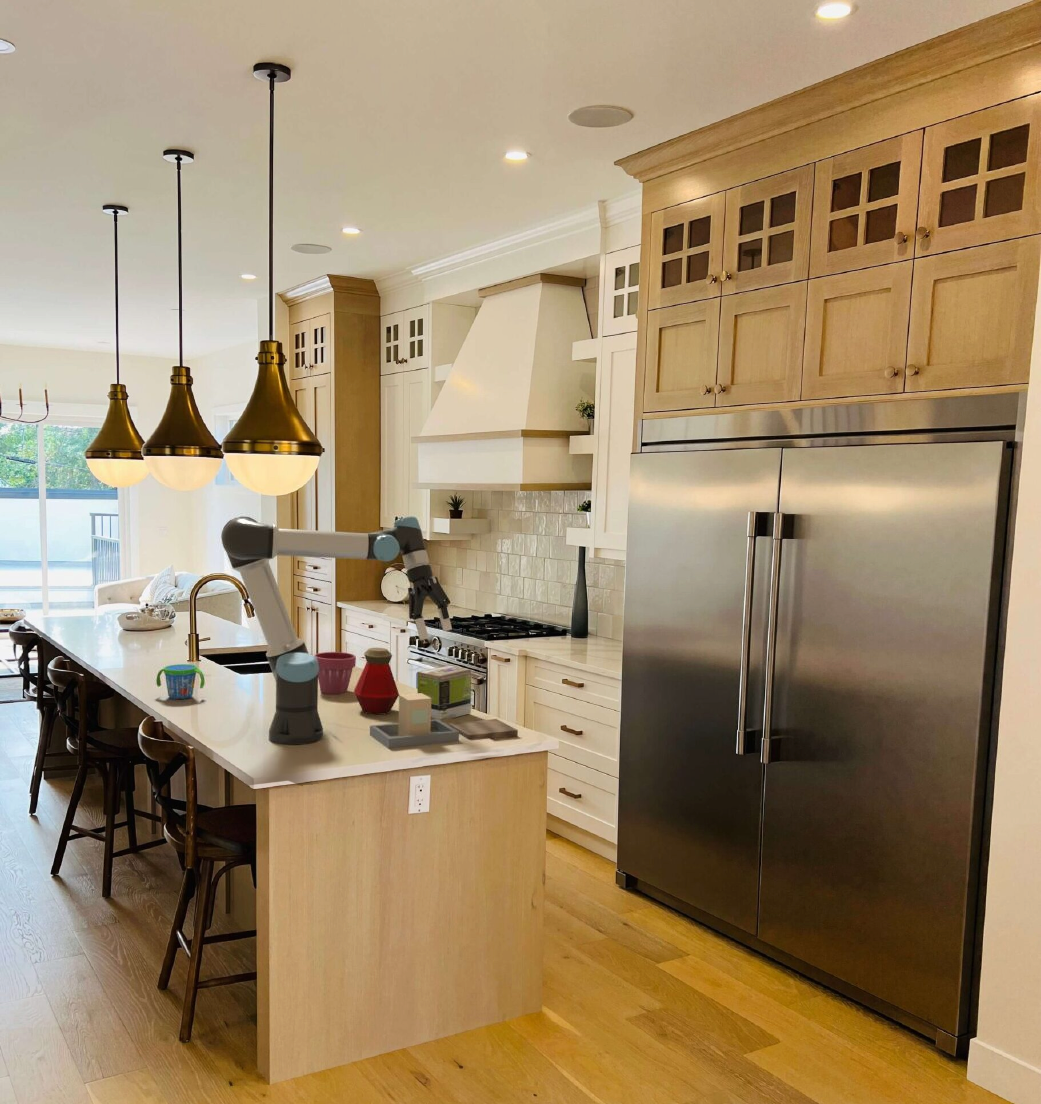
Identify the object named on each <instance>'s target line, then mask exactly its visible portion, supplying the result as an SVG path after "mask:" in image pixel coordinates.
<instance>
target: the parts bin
mask: <svg viewBox="0 0 1041 1104" xmlns="http://www.w3.org/2000/svg"><path fill="white" fill-rule="evenodd" d="M369 736H371V737H372V738H373V739H375V741H377V742H379V743H380V744H381V745H382V746H385V748H387V750H388V749H389V750H390V749H391V750H392V749H398V748H399V749H400V748H407V747H417V746H418V747H419V746H425V745H437V744H445V743H453V742H459V741H460V734H459V731H457V730H455V729H454V728H452V727H450V726H449V724H447V723H445V722H443V721H442V720H441V719H440V720H438V719H434V718H433V719H431V728H430V734H420V735H410V736H400V737H399V736H398V722H395V723H385V724H384V723H383V724H374V725H373V724H372V725H369Z"/></svg>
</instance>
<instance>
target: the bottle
mask: <svg viewBox="0 0 1041 1104" xmlns="http://www.w3.org/2000/svg"><path fill="white" fill-rule="evenodd" d="M363 655H364V657H365V660H366V663H365V665H364V668H363V669H362V671H361V674H360V675H359V679H358V680H357V683H356V685H355V687H354V689H353V693H354V695H355V697H356V698H355V699H357V702H358V704H359V706H360V708H361V710H362V712H363V711H364V713H365V712H367V713H366V714H369V713H373V714H372V715H384V714H383V713H386V714H389V713H390V712H391V710H392V709H393V707H394V705H395V703H396V701H397V700H398V699H399V695H400V693H399V690H398V686H397V684H396V681H395V677H394V675H393V671H392V669H391V666H390V662H391V660H392V657H393V654H392V653H391V652H390V651H389V650H388V649H387V648H385V647H370V648H368V649H367V650H365V652H364V653H363ZM388 712H389V713H388Z"/></svg>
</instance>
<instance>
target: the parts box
mask: <svg viewBox="0 0 1041 1104" xmlns="http://www.w3.org/2000/svg"><path fill="white" fill-rule="evenodd" d="M417 693H418V692H417ZM417 693H409V694H408V693H406V694H399V696H398V722H397V723H398V736H399V737H400V736H410V735H420V734H430V728H431V720H432V718H431V698H430V697H428V696H426V695H424V694H422V693H418V694H417Z"/></svg>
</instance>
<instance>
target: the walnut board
mask: <svg viewBox="0 0 1041 1104" xmlns="http://www.w3.org/2000/svg"><path fill="white" fill-rule="evenodd" d="M448 726H450V727H452V728H454V729H455V730H457V731H459V736H462V737H464V738H465V739H467V740H474V739H475V740H476V739H485V738H488V739H489V740H499V738H501V739H509V738H516V737H517V738H518V736H519V735H518V734H519V733H518V732H519V731H518V729H517V728H515V727H513V726H511V725H509V724H507V723H505V722H503V721H501V720H499V719H497V718H491V719H484V720H483V719H482V720H472V721H471V720H470V721H462V722H452V723H451V722H450V723H448Z"/></svg>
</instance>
